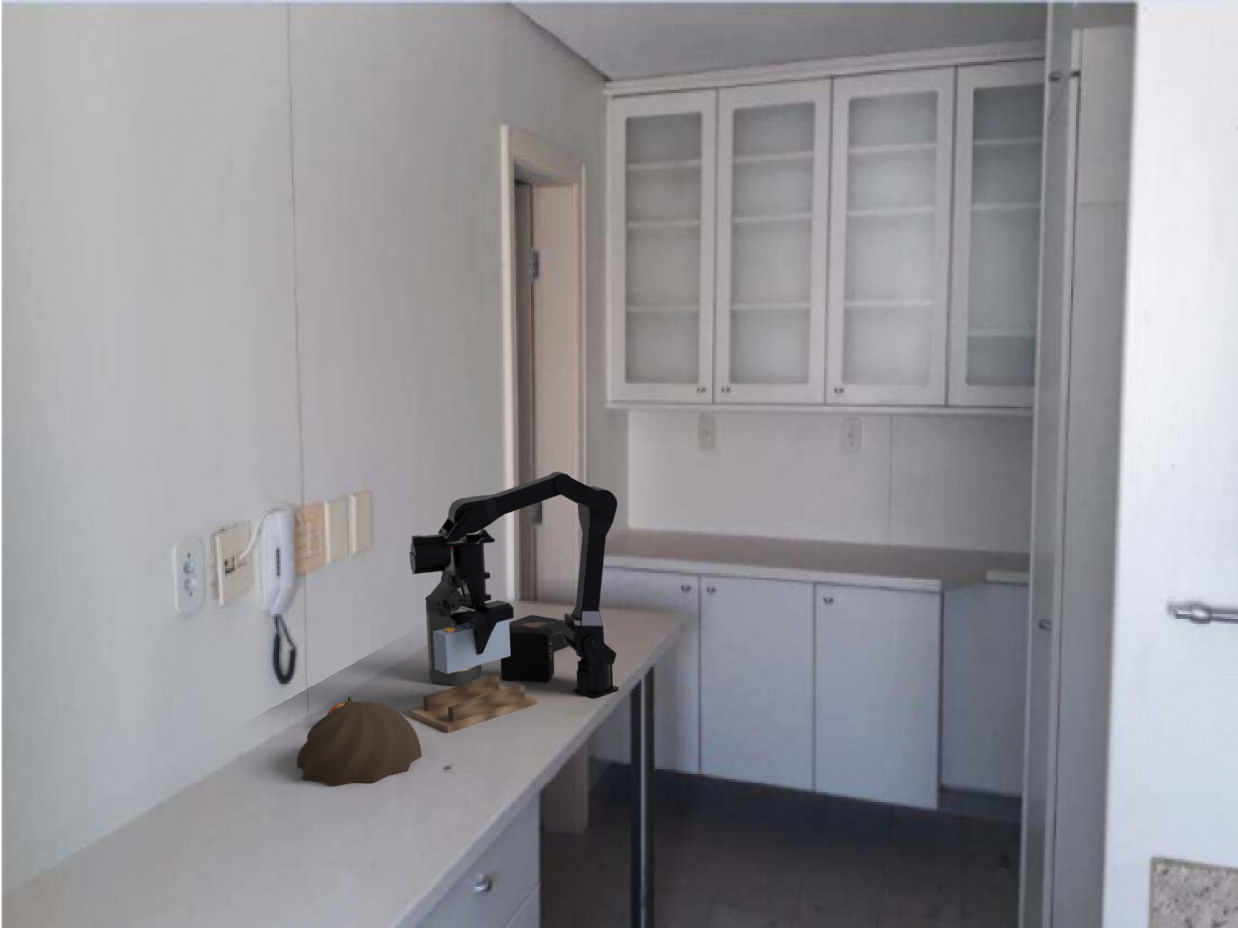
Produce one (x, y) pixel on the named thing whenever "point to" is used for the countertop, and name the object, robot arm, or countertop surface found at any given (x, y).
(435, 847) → the countertop surface
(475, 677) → the liquor
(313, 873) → the countertop surface
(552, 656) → the electronic device
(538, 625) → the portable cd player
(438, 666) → the power strip
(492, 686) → the dock
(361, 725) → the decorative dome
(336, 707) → the tomato
